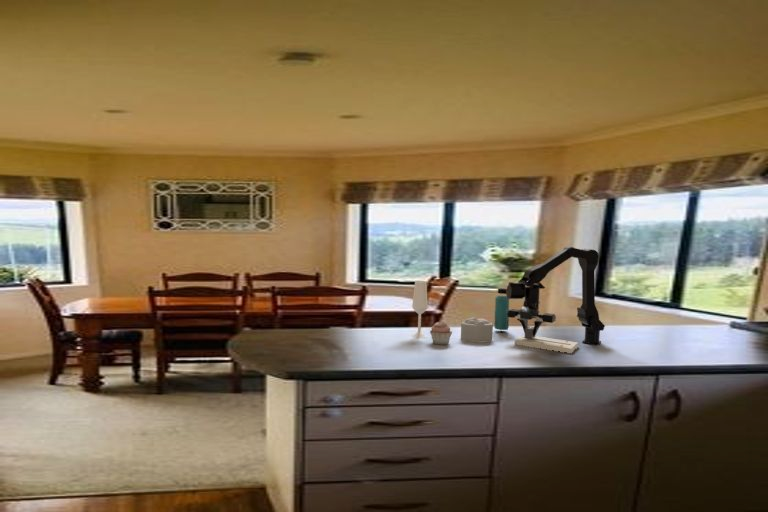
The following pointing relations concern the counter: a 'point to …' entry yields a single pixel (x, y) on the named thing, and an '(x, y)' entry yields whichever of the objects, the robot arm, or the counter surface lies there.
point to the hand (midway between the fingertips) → (530, 336)
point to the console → (547, 343)
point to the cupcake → (440, 333)
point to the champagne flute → (420, 304)
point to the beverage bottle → (501, 311)
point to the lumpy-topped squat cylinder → (476, 330)
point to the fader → (529, 332)
